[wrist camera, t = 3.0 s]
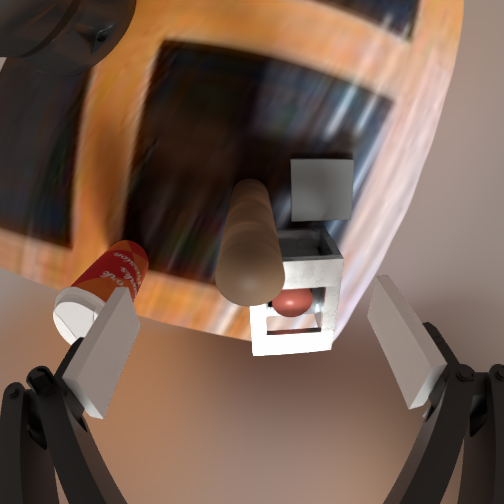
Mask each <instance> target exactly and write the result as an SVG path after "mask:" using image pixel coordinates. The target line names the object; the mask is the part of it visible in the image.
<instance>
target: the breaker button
mask: <svg viewBox="0 0 504 504" xmlns="http://www.w3.org/2000/svg"><path fill="white" fill-rule="evenodd" d="M312 301H313V297H312V293H311V290H310V288H298V289H282V290H281V292H280V293H279V295H278V296H277V297H276V298H274V299H273V300H272V305H273V308H274V310H275V311H276V312H277V313H278V314H280V315H282V316H285V317H296V316H299V315H302V314H303V313H305V312H306V311H307V310H308V309H309V308H310V307H311V305H312Z"/></svg>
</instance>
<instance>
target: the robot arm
mask: <svg viewBox="0 0 504 504" xmlns="http://www.w3.org/2000/svg"><path fill="white" fill-rule="evenodd" d="M134 9H135V0H0V57H11V58H20V59H21V60H23V61H24V62H26V63H28V64H29V65H31V66H32V67H33V68H34V69H36V70H37V71H38V72H40V73H42V74H45V75H50V76H72V75H76V74H79V73H81V72H84V71H86V70H88V69H89V68H91V67H93V66H94V65H96V64H97V63H98V62H100V61H101V60H102V59H103V58H105V57H106V56H107V55H108V54H109V53H110V52H111V51H112V50H113V49H114V47H115V46H116V45H117V44H118V43H119V41H120V40H121V38H122V37H123V35H124V34H125V32H126V30H127V28H128V26H129V24H130V22H131V20H132V17H133V14H134ZM367 317H368V319H369V321H370V323H371V325H372V327H373V330H374V332H375V334H376V336H377V338H378V340H379V342H380V344H381V346H382V349H383V351H384V353H385V355H386V357H387V359H388V362H389V364H390V366H391V368H392V371H393V373H394V375H395V377H396V380H397V382H398V384H399V387H400V389H401V391H402V394H403V396H404V399H405V401H406V403H407V406H408V408H409V409H411V408H415V407H419V406H422V405H424V403H425V402H426V400H427V398H428V397H429V400H430V402H431V405H430V406H429V408H428V409H427V411H426V412H425V414H424V415H423V417H425V419H424V421H423V424H422V426H421V429H420V432H419V434H418V436H417V438H416V441H415V443H414V445H413V448H412V450H411V452H410V454H409V456H408V458H407V460H406V462H405V465H404V467H403V469H402V471H401V472H400V474H399V477H398V478H397V480H396V482H395V484H394V486H393V487H392V489H391V491H390V493H389V494H388V496H387V498H386V500H385V501H384V503H383V504H440V502H441V500H442V498H443V495H444V493H445V491H446V488H447V486H448V483H449V480H450V478H451V475H452V473H453V470H454V467H455V464H456V461H457V458H458V455H459V452H460V449H461V446H462V442H463V439H464V454H463V467H462V475H461V484H460V491H459V497H458V503H457V504H504V365H501V364H495V365H494V366H492V367H491V369H490V370H489V372H484V373H482V372H480V373H479V372H474V370H473V369H472V368H471V367H469V366H467V365H465V364H460V363H459V362H458V360H457V358H456V357H455V355H454V354H453V352H452V351H451V349H450V348H449V346H448V345H447V343H445V340H444V338H443V337H441V334H440V332H439V331H438V330H437V328H436V327H434V326H433V325H432V324H430V323H429V322H426V323H421V321H420V320H419V318H418V317H417V315H416V314H415V313H414V311H413V309H412V308H411V306H410V305H409V304H408V302H407V301H406V299H405V298H404V296H403V295H402V294H401V292H400V291H399V289H398V288H397V287H396V285H395V284H394V282H393V281H392V280H391V279H390V277H389V276H388V275H382V276H375V281H374V287H373V292H372V297H371V302H370V307H369V312H368V316H367ZM140 328H141V325H140V322H139V319H138V316H137V313H136V310H135V307H134V304H133V301H132V298H131V295H130V291H129V288H128V287H116V288H115V290H114V291H113V293H112V295H111V296H110V298H109V299H108V301H107V302H106V304H105V305H104V307H103V308H102V310H101V312H100V313H99V315H98V316H97V318H96V320H95V321H94V323H93V324H92V326H91V328H90V329H89V331H88V333H87V334H86V336H85V337H79V338H78V339H77V340H76V341H75V342H74V343H73V344H72V346H71V347H70V349H69V350H68V352H67V354H66V355H65V358H64V359H63V361H62V362H61V364H60V366H59V367H58V369H57V371H56V373H55V375H54V376H53V374H52V373H51V371H50V370H49V368H47V367H45V366H38V367H36V368H34V369H33V370H31V371H30V372H29V374H28V376H27V379H26V382H27V384H28V385H29V386H30V388H31V389H27V390H26V389H25V388H24V387H23V385H22V384H21V383H19V382H14V383H11V384H10V385H9V386H7V388H6V389H5V391H4V394H3V400H2V407H1V415H0V504H59V498H58V492H57V487H56V478H55V470H54V466H55V469H56V472H57V475H58V478H59V480H60V483H61V485H62V488H63V490H64V493H65V495H66V498H67V500H68V502H69V504H127V502H126V501H125V499H124V497H123V496H122V494H121V492H120V491H119V489H118V487H117V485H116V484H115V482H114V480H113V478H112V476H111V474H110V472H109V470H108V469H107V467H106V465H105V463H104V461H103V459H102V457H101V454H100V452H99V451H98V448H97V446H96V444H95V441H94V439H93V437H92V435H91V432H90V430H89V428H88V425H87V423H86V420H85V418H84V417H83V415H82V414H83V411H84V409H85V410H86V412H87V413H88V414H89V415H90V416H91V417H96V418H101V419H104V418H105V415H106V412H107V409H108V406H109V404H110V401H111V398H112V396H113V393H114V391H115V388H116V385H117V383H118V380H119V378H120V375H121V373H122V370H123V368H124V365H125V363H126V361H127V358H128V356H129V353H130V351H131V348H132V346H133V344H134V341H135V339H136V337H137V335H138V332H139V330H140Z"/></svg>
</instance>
